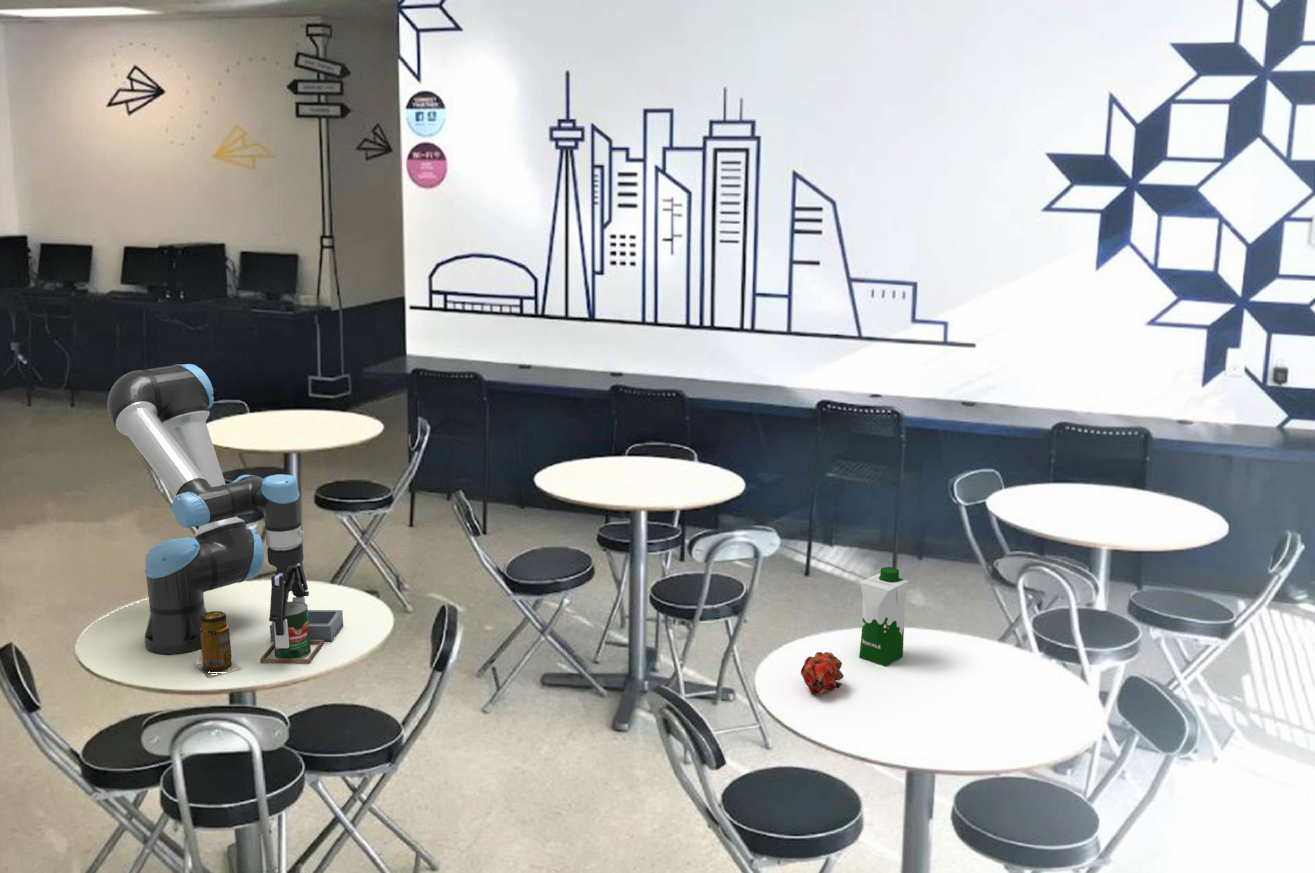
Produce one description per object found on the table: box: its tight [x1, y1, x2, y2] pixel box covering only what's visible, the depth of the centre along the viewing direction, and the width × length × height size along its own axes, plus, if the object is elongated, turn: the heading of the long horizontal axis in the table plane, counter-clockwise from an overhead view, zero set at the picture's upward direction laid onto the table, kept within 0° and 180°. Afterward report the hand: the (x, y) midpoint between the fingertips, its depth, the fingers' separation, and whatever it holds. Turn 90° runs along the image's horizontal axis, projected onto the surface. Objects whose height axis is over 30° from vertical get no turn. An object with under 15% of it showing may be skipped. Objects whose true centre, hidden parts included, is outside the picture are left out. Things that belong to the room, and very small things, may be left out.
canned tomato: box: [271, 600, 312, 659], centre depth 275 cm, size 8×8×11 cm
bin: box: [269, 609, 344, 643], centre depth 286 cm, size 14×10×4 cm
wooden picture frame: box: [259, 640, 325, 665], centre depth 276 cm, size 11×11×1 cm
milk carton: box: [858, 566, 909, 667], centre depth 271 cm, size 9×9×20 cm
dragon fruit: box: [800, 651, 845, 696], centre depth 256 cm, size 8×8×12 cm
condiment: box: [195, 610, 243, 678], centre depth 267 cm, size 7×8×12 cm
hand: (291, 635), depth 275 cm, fingers open, 12 cm apart
